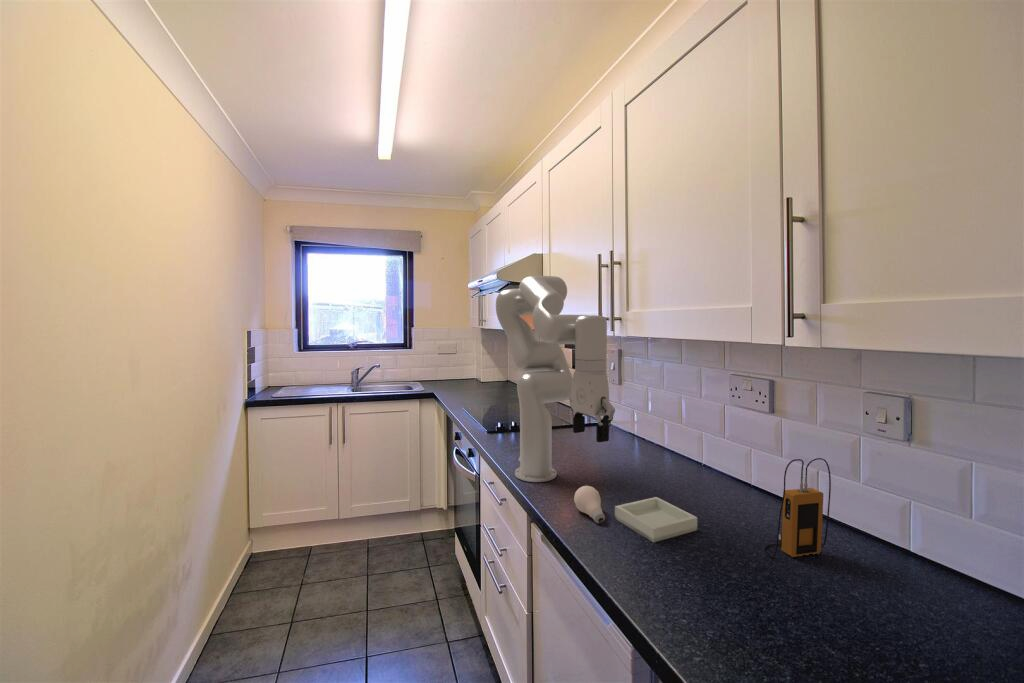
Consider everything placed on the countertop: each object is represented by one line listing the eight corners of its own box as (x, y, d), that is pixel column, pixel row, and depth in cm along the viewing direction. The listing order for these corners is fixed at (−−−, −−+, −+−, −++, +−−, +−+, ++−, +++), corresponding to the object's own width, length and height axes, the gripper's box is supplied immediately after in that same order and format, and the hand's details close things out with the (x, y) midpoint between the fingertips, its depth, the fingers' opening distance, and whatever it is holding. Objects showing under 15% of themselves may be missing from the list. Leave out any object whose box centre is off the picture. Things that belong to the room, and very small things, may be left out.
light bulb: (613, 505, 106) (593, 477, 116) (587, 513, 105) (568, 484, 115) (614, 527, 109) (594, 497, 119) (589, 535, 107) (570, 505, 117)
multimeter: (796, 530, 104) (800, 444, 103) (836, 553, 94) (840, 457, 93) (740, 537, 101) (743, 448, 100) (775, 561, 91) (779, 462, 90)
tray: (614, 518, 110) (614, 506, 110) (656, 508, 116) (656, 496, 116) (653, 542, 99) (653, 529, 98) (697, 530, 104) (697, 517, 104)
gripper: (558, 364, 117) (558, 430, 118) (599, 371, 101) (599, 447, 102) (583, 362, 120) (582, 427, 121) (626, 369, 105) (625, 443, 105)
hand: (590, 436), depth 112 cm, fingers open, 9 cm apart
